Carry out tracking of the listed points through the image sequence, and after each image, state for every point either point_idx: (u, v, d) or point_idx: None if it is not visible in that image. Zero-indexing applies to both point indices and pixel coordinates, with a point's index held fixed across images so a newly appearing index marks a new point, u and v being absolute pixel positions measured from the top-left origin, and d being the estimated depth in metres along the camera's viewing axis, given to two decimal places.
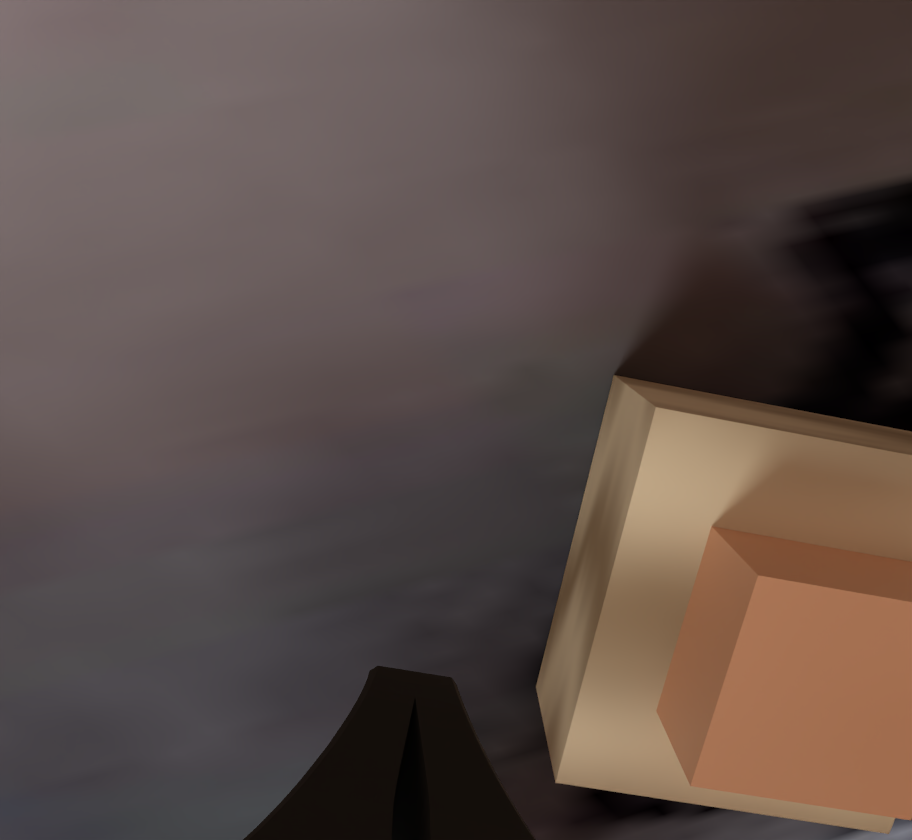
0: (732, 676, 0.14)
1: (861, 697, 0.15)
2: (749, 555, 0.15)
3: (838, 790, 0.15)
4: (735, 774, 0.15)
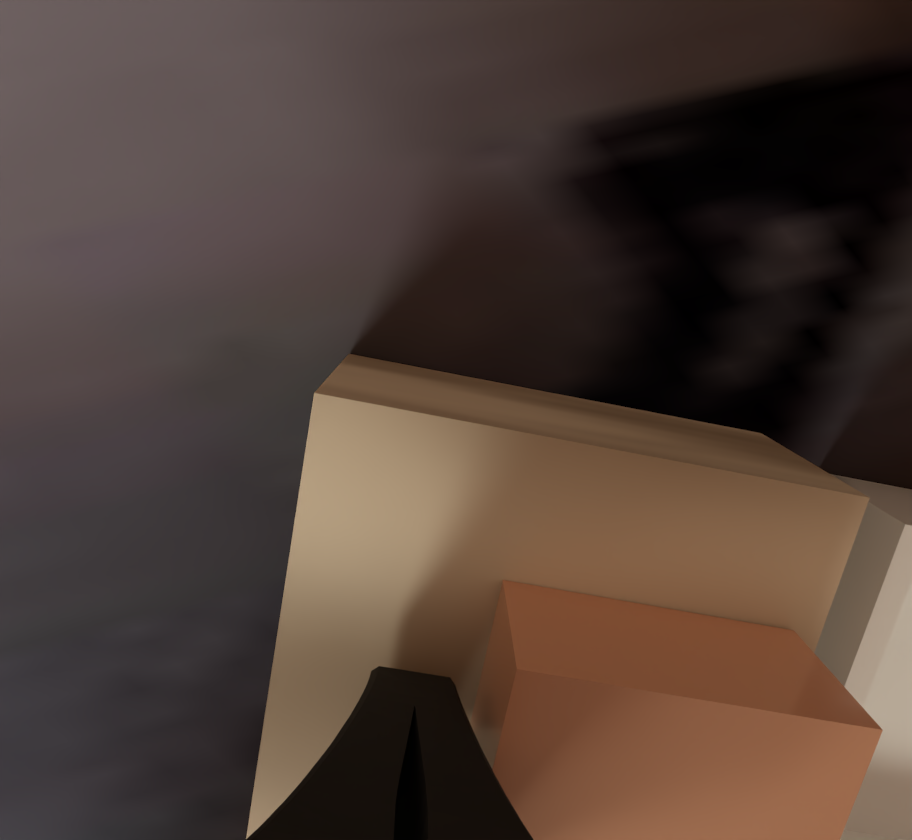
0: None
1: None
2: (528, 630, 0.10)
3: None
4: None
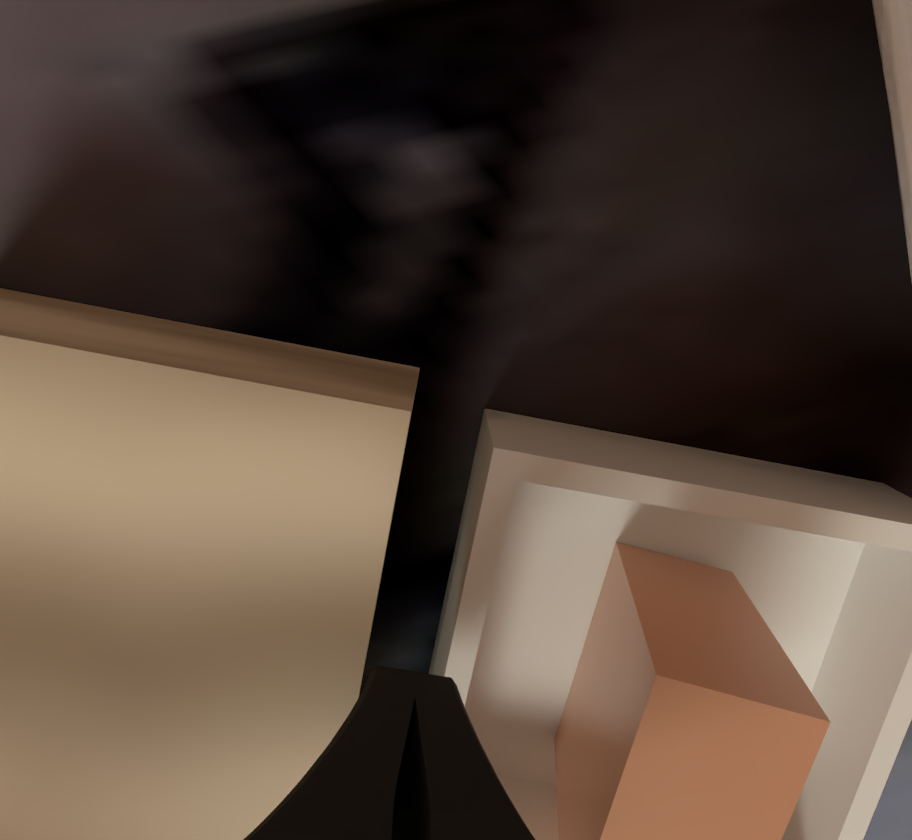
0: None
1: None
2: (753, 691, 0.10)
3: None
4: None
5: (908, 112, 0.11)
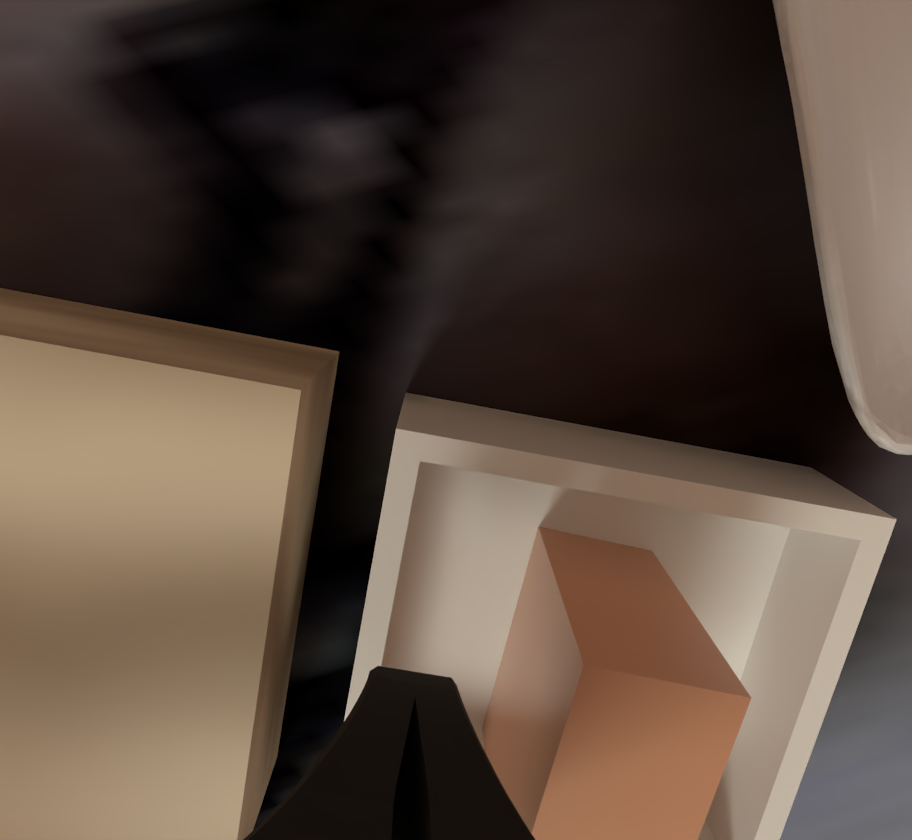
0: (699, 819, 0.11)
1: None
2: (677, 673, 0.10)
3: None
4: None
5: (806, 87, 0.11)
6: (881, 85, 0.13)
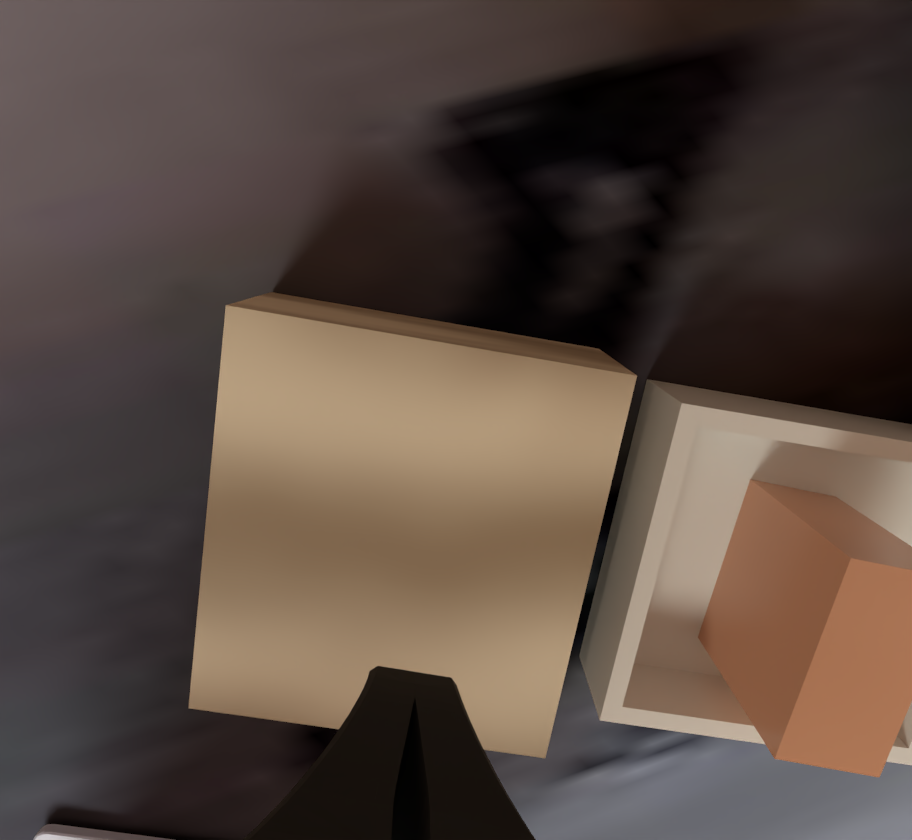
0: None
1: None
2: (909, 565, 0.15)
3: None
4: None
5: None
6: None
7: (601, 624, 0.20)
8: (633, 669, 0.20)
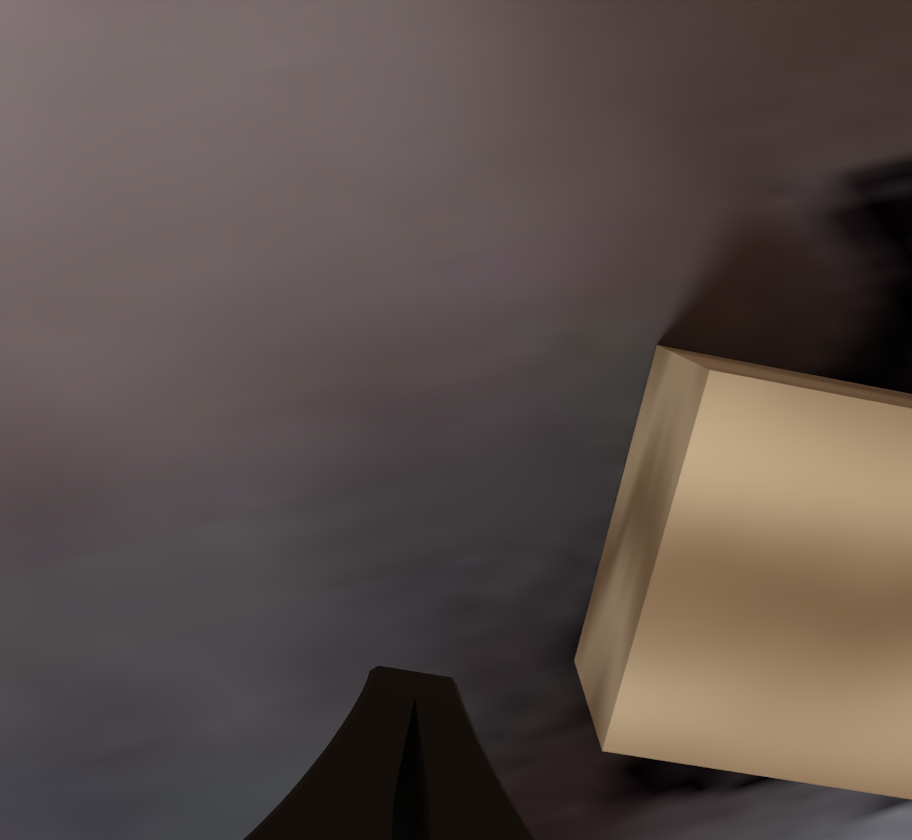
0: None
1: None
2: None
3: None
4: None
5: None
6: None
7: None
8: None
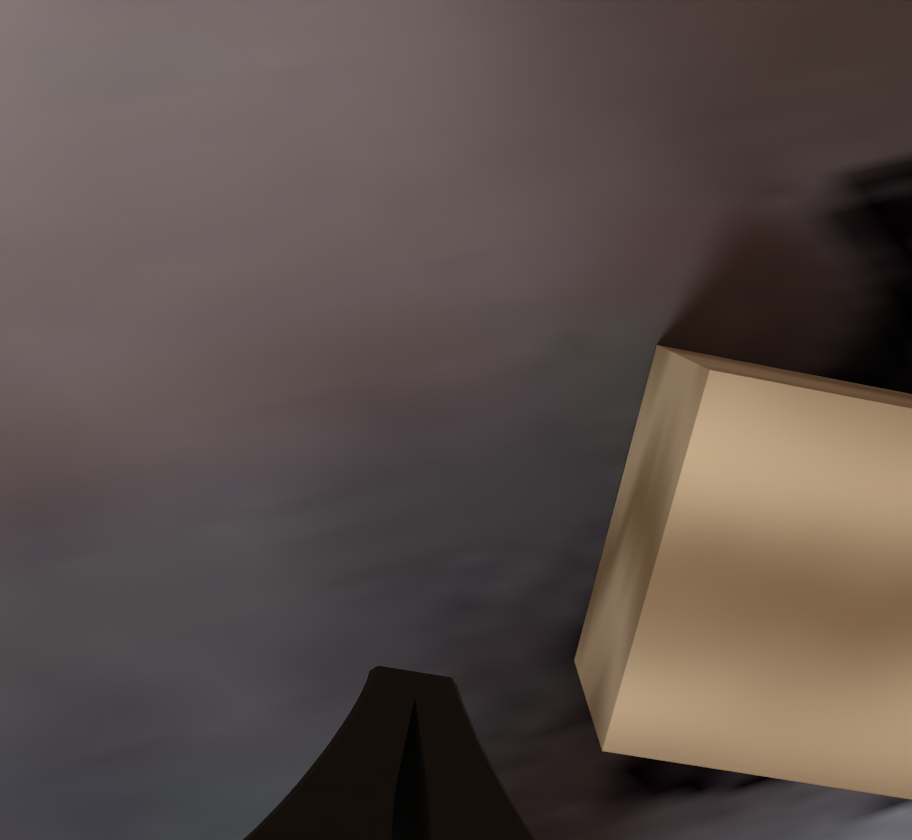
0: None
1: None
2: None
3: None
4: None
5: None
6: None
7: None
8: None
